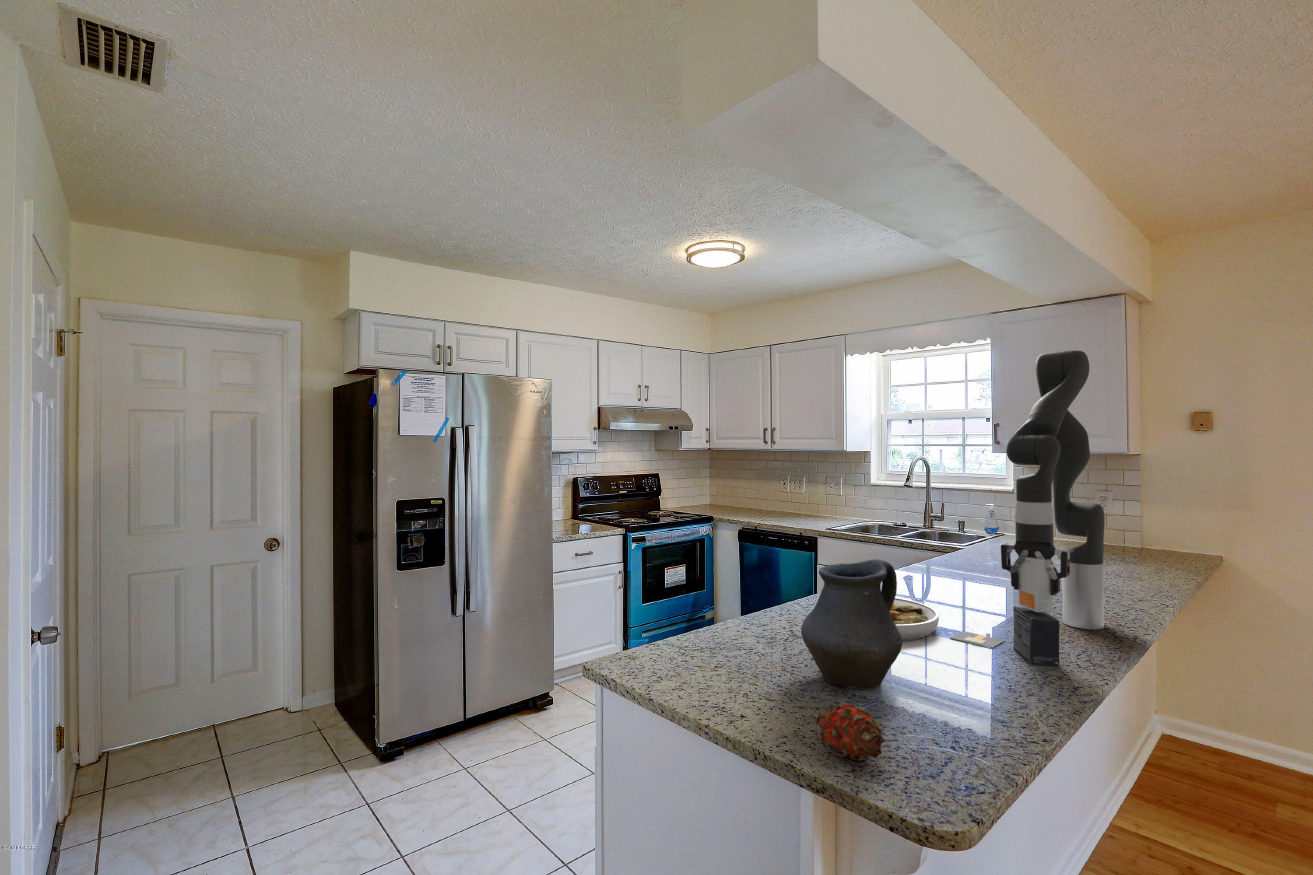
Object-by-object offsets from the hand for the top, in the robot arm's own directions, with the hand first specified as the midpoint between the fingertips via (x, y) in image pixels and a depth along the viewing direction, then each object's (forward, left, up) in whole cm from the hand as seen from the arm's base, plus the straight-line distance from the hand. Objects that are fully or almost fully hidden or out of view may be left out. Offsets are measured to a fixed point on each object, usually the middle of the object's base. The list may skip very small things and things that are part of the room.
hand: (1035, 591), depth 142 cm
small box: (0, 0, -16) cm, 16 cm away
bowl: (+4, -37, -16) cm, 40 cm away
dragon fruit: (+71, -5, -15) cm, 73 cm away
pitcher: (+43, -21, -15) cm, 50 cm away
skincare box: (0, 0, -4) cm, 4 cm away
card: (-3, -14, -15) cm, 21 cm away
